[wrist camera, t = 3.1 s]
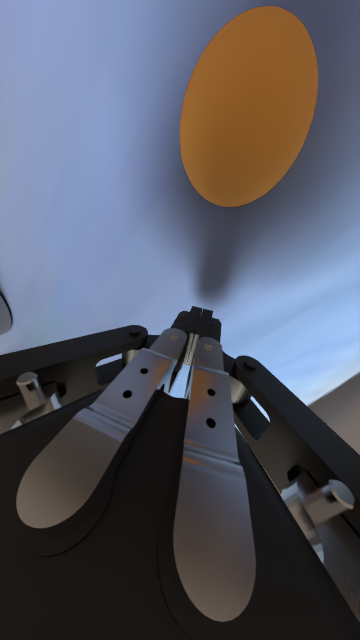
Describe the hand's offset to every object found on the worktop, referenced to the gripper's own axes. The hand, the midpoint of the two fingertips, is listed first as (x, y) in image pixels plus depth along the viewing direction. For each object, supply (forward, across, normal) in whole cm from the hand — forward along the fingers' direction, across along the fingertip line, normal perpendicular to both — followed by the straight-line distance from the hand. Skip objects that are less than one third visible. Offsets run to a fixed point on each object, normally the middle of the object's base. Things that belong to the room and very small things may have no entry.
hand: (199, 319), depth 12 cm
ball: (-1, 0, -9) cm, 9 cm away
